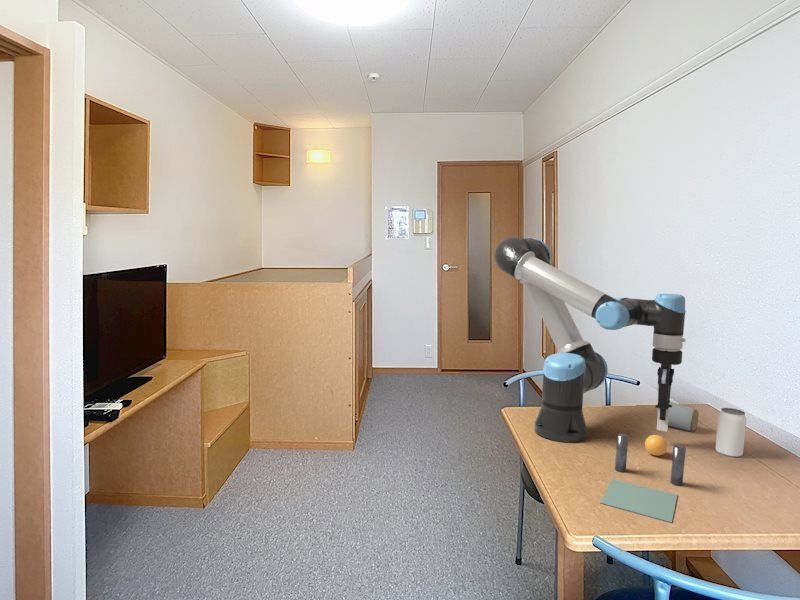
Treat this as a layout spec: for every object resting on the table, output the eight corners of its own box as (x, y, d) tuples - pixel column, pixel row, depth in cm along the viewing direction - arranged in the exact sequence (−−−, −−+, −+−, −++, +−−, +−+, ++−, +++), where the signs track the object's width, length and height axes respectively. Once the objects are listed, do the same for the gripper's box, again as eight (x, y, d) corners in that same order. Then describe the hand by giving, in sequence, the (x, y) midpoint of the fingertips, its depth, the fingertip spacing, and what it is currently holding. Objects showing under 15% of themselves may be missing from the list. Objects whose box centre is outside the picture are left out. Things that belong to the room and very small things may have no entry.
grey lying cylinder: (692, 434, 157) (695, 410, 156) (663, 428, 162) (665, 404, 161) (700, 426, 165) (702, 403, 164) (671, 420, 170) (674, 397, 169)
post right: (669, 483, 124) (673, 447, 123) (670, 479, 126) (674, 444, 125) (682, 486, 122) (685, 450, 121) (682, 482, 124) (686, 446, 123)
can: (747, 458, 140) (751, 415, 138) (720, 456, 141) (724, 413, 140) (736, 449, 146) (740, 408, 145) (711, 447, 147) (715, 406, 146)
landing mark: (600, 503, 113) (600, 502, 113) (612, 479, 125) (612, 478, 125) (671, 523, 106) (671, 522, 106) (677, 495, 118) (677, 494, 118)
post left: (613, 470, 130) (616, 436, 129) (615, 466, 132) (618, 432, 131) (624, 473, 129) (627, 438, 128) (626, 469, 131) (629, 435, 130)
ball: (642, 455, 140) (644, 436, 139) (645, 449, 145) (647, 430, 144) (665, 460, 137) (667, 440, 136) (667, 453, 142) (669, 434, 141)
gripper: (680, 354, 138) (674, 439, 140) (684, 346, 149) (678, 425, 151) (649, 350, 142) (644, 433, 144) (655, 343, 153) (650, 421, 155)
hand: (662, 429), depth 148 cm, fingers closed
